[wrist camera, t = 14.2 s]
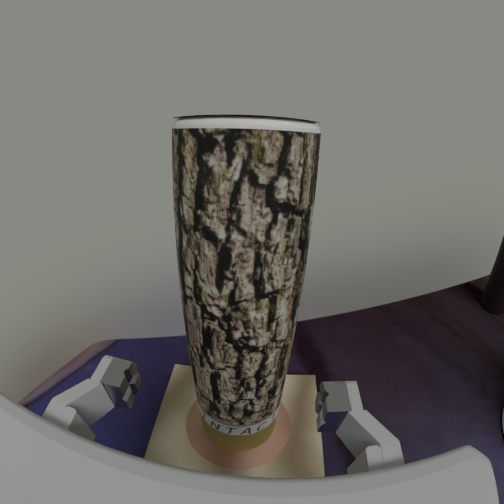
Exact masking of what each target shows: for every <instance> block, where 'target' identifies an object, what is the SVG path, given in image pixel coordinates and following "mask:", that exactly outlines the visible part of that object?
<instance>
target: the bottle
mask: <svg viewBox="0 0 504 504" xmlns="http://www.w3.org/2000/svg"><path fill="white" fill-rule="evenodd" d="M480 302H481V304H482V306H483V307H484V308H485V309H486V310H487V311H489V312H491V313H493V314H496V315H498V314H501V313H503V311H504V237H503V240H502V243H501V246H500V249H499V252H498V255H497V258H496V261H495V264H494V266H493V269H492V272H491V274H490V277H489V279H488V282H487V284H486V287H485V289H484V291H483V294H482V296H481V298H480Z"/></svg>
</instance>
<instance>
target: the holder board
mask: <svg viewBox="0 0 504 504" xmlns="http://www.w3.org/2000/svg"><path fill="white" fill-rule="evenodd" d="M316 395H317V389H316V380H315V375H286V379H285V384H284V389H283V393H282V398H281V402H280V406H279V410H278V414H277V418H276V422H275V426H274V430H273V432H272V434H271V436H270V437H269V438H268V439H267V440H266V441H265V442H264V443H263V444H262V445H260V446H258V447H256V448H253V449H250V450H245V451H233V450H228V449H225V448H222V447H220V446H218V445H217V444H215V443H214V442H213V441H212V440H211V439H210V438H209V437H208V436H207V434H206V433H205V431H204V428H203V424H202V420H201V415H200V411H199V407H198V402H197V396H196V391H195V386H194V380H193V374H192V369H191V366H186V365H179V364H175V366H174V369H173V372H172V375H171V378H170V381H169V384H168V387H167V389H166V392H165V395H164V398H163V401H162V404H161V407H160V410H159V413H158V416H157V419H156V422H155V426H154V429H153V432H152V435H151V438H150V441H149V444H148V447H147V451H146V454H145V457H144V459H148V460H152V461H156V462H160V463H164V464H168V465H172V466H177V467H182V468H187V469H192V470H198V471H204V472H211V473H218V474H226V475H236V476H247V477H264V478H308V477H325V475H324V461H323V448H322V437H321V432H317V423H316V419H317V417H318V414H317V413H316V412H315V400H316Z"/></svg>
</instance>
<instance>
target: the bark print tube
mask: <svg viewBox="0 0 504 504" xmlns="http://www.w3.org/2000/svg"><path fill="white" fill-rule="evenodd" d="M174 118H180V119H178V120H176V121H175V122H174V125H173V128H172V167H173V168H172V169H173V198H174V218H175V233H176V246H177V259H178V269H179V279H180V289H181V297H182V306H183V314H184V322H185V329H186V337H187V343H188V350H189V356H190V363H191V369H192V374H193V380H194V386H195V391H196V396H197V402H198V407H199V411H200V415H201V420H202V424H203V428H204V431H205V433H206V434H207V436H208V437H209V438H210V439H211V440H212V441H213V442H214V443H215V444H217V445H218V446H220V447H222V448H225V449H228V450H233V451H245V450H250V449H253V448H256V447H258V446H260V445H262V444H263V443H264V442H265V441H266V440H267V439H268V438H269V437H270V436H271V434H272V432H273V430H274V426H275V422H276V418H277V414H278V410H279V406H280V402H281V398H282V393H283V389H284V384H285V379H286V374H287V370H288V365H289V360H290V355H291V350H292V345H293V339H294V334H295V328H296V323H297V317H298V311H299V306H300V299H301V294H302V287H303V281H304V274H305V268H306V261H307V254H308V247H309V240H310V232H311V224H312V216H313V208H314V199H315V189H316V180H317V170H318V160H319V149H320V135H321V133H320V129H319V126H318V125H316V124H315V123H320V122H316V121H310V120H303V119H295V118H285V117H273V116H257V115H196V116H181V117H174Z"/></svg>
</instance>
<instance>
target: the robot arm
mask: <svg viewBox="0 0 504 504" xmlns="http://www.w3.org/2000/svg"><path fill="white" fill-rule="evenodd" d="M136 369H137V365H136V363H135V362H131V361H127V360H123V359H120V358H116V357H112V356H108V355H105V356H104V357H103V358H102V360H101V361H100V363H99V365H98V367H97V368H96V370H95V372H94V373H93V375H92V377H91V379H86V380H84V381H82V382H81V383H79V384H77V385H75V386H74V387H72V388H70V389H68V390H66V391H65V392H63V393H61V394H59V395H57V396H55V397H54V398H52V400H51V401H50V403H49V405H48V407H47V408H46V410H45V412H44V414H43V415H42V417H41V416H39V415H37V414H35V413H33V412H32V411H30V410H28V409H26V408H25V407H23V406H21V405H20V404H18V403H17V402H15V401H13V400H12V399H10V398H8V397H7V396H6V395H4V394H3V393H1V392H0V504H499V499H498V492H497V487H496V481H495V477H494V473H493V469H492V466H491V463H490V461H489V459H488V458H487V457H486V456H485V455H484V454H482V453H481V452H479V451H478V450H477V449H475V448H474V447H472V446H470V445H465V446H461V447H459V448H456V449H453V450H451V451H448V452H445V453H442V454H439V455H436V456H432V457H429V458H426V459H422V460H419V461H415V462H411V463H407V464H404V459H403V455H402V451H401V446H400V442H399V440H398V439H397V438H396V437H395V436H394V435H392V434H391V433H390V432H389V431H388V430H387V429H386V428H385V427H384V426H383V425H382V424H381V423H380V422H378V421H377V420H376V419H375V418H374V417H373V416H372V415H371V414H370V413H369V412H368V411H367V410H363V406H362V402H361V398H360V393H359V389H358V385H357V382H356V381H330V382H322V383H321V384H320V391H319V392H317V395H316V400H315V412H316V413H317V414H318V417H317V419H316V423H317V432H336V434H337V435H338V436H339V438H340V439H341V440H342V441H343V443H344V444H345V445H346V447H347V448H348V449H349V450H350V452H351V453H352V454H353V455H354V457H355V458H356V460H355V461H354V462H353V463H352V464H351V465H350V466H349V467H348V468H347V473H348V474H346V475H337V476H325V477H308V478H264V477H247V476H236V475H226V474H218V473H211V472H204V471H198V470H192V469H187V468H182V467H177V466H172V465H168V464H164V463H160V462H156V461H152V460H148V459H144V458H141V457H137V456H134V455H131V454H128V453H125V452H121V451H118V450H116V449H113V448H110V447H107V446H104V445H102V444H99V443H96V442H94V439H95V437H96V436H95V434H94V433H93V431H92V430H91V429H90V428H89V427H90V426H91V425H92V424H94V423H95V422H96V421H98V420H99V419H100V418H101V417H103V416H104V415H105V414H107V413H108V412H109V411H110V410H112V409H113V408H114V407H115V406H117V407H121V408H124V409H128V410H131V408H132V406H133V403H134V401H135V397H134V394H136V393H137V392H138V391H139V389H140V385H141V376H140V374H139V373H138V372H137V371H136ZM502 426H503V432H504V409H503V415H502Z"/></svg>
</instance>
